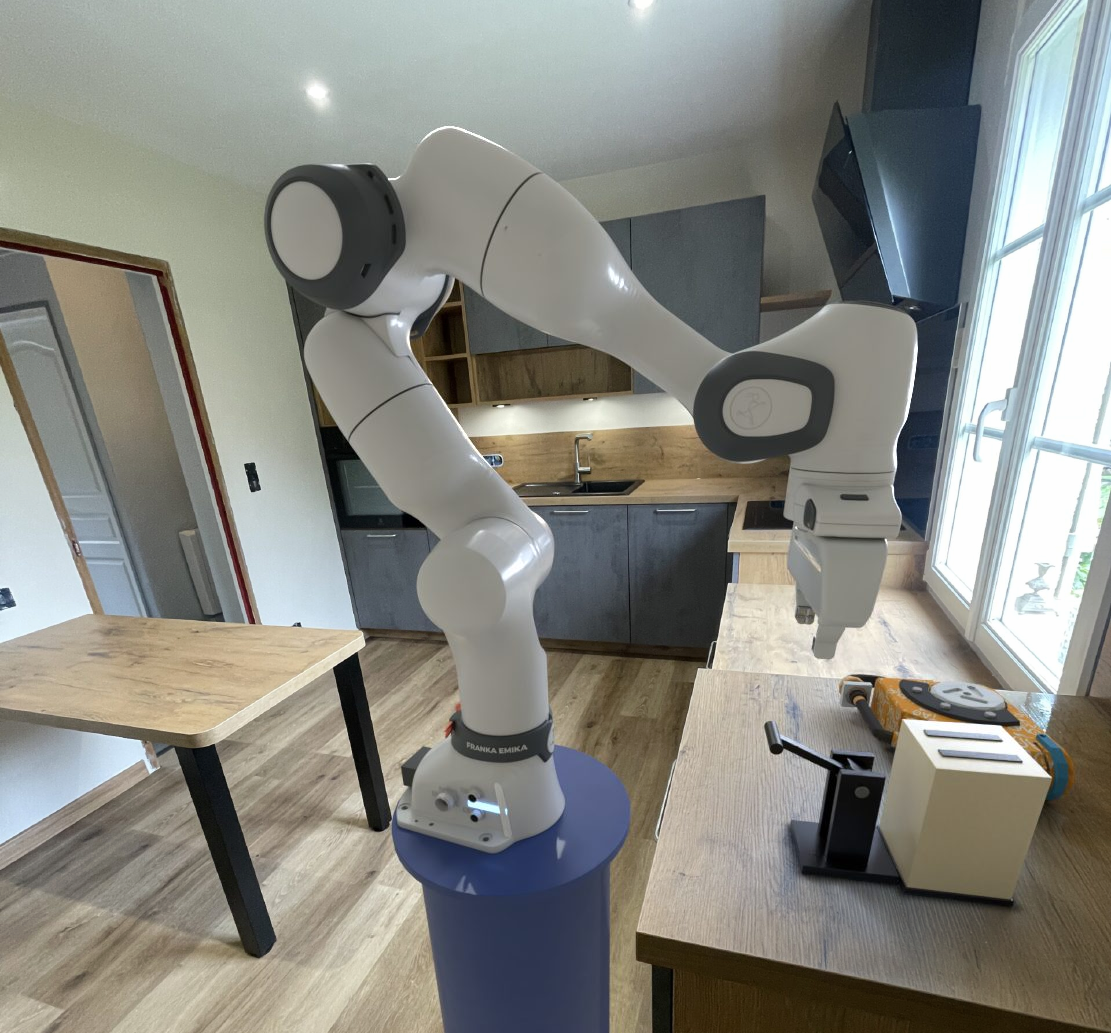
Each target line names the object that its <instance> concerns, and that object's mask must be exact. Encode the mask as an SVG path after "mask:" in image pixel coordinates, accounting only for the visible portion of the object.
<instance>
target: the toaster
mask: <svg viewBox="0 0 1111 1033" xmlns="http://www.w3.org/2000/svg"><path fill="white" fill-rule="evenodd" d="M1051 780H1052V777H1051V776H1050V775H1049V774H1048V773H1047V772H1046V771H1045V770H1044V769H1043V768H1042V767H1041V766H1040V765H1039V764H1038V763H1037V762H1036V761H1035V760H1034V759H1033V758H1032V757H1031V756H1030V755H1029V754H1028V753H1027V752H1026V751H1025V750H1024V749H1023V748H1022V747H1021V746H1020V745H1019V744H1018V743H1017V742H1016V741H1015V740H1014V739H1013V738H1012V737H1011V736H1010V735H1009V734H1008V733H1007V732H1006V731H1005V730H1004V729H1003V728H1002V727H1001V726H997V725H982V724H967V723H952V722H938V721H923V720H908V719H902V723H901V727H900V732H899V737H898V741H897V746H896V749H895V751H894V755H893V759H892V764H891V770H890V774H889V779H888V783H887V788H886V793H885V798H884V802H883V807H882V812H881V815H880V821H879V824H876V827H875V829H878V831H879V833H880V835H881V838H882V840H883V842H884V844H885V846H886V849H887V851H888V853H889V855H890V857H891V860H892V862H893V864H894V866H895V868H896V871H897V873H898V875H899V880H898V883H899V885H900V887H901V889H902V891H903V893H904V894H906V895H913V896H921V897H930V898H938V899H946V900H947V899H948V900H953V901H954V900H955V901H962V902H970V903H978V904H986V905H995V906H1003V907H1013V906H1014V903H1015V900H1014V899H1013V896H1014V893H1015V891H1016V890H1015V889H1016V887H1017V884H1018V882H1019V879H1020V875H1021V872H1022V869H1023V866H1024V863H1025V860H1026V857H1027V854H1028V851H1029V848H1030V845H1031V843H1032V839H1033V837H1034V833H1035V830H1036V827H1037V824H1038V822H1039V818H1040V816H1041V813H1042V809H1043V806H1044V805H1045V801H1046V800H1045V798H1046V795H1047V792H1048V789H1049V786H1050V783H1051Z"/></svg>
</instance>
